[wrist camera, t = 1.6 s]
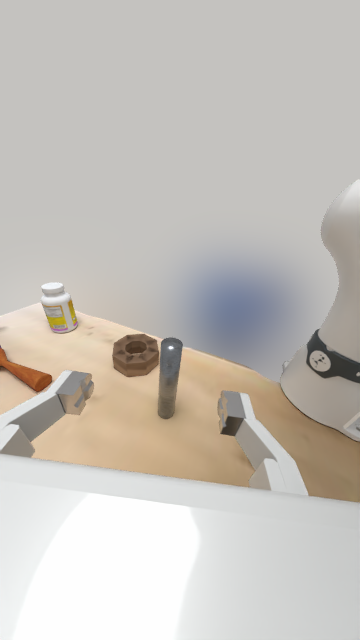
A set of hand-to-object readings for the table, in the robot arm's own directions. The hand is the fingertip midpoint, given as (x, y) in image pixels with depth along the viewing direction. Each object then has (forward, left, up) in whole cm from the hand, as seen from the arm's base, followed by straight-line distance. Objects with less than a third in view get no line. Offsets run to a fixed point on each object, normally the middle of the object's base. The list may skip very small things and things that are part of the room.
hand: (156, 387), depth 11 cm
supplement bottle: (+21, -41, -22) cm, 52 cm away
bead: (+1, -25, -22) cm, 34 cm away
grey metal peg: (-4, -11, -22) cm, 25 cm away
